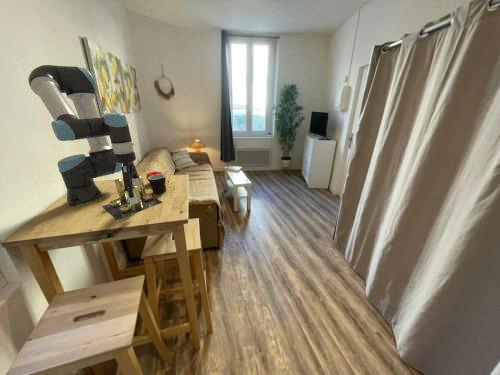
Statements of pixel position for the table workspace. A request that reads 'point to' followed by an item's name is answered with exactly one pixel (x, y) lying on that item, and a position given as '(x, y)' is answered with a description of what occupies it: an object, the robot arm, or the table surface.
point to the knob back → (121, 193)
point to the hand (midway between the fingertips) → (136, 197)
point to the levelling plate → (119, 215)
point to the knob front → (137, 206)
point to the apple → (152, 174)
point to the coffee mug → (158, 183)
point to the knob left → (143, 190)
